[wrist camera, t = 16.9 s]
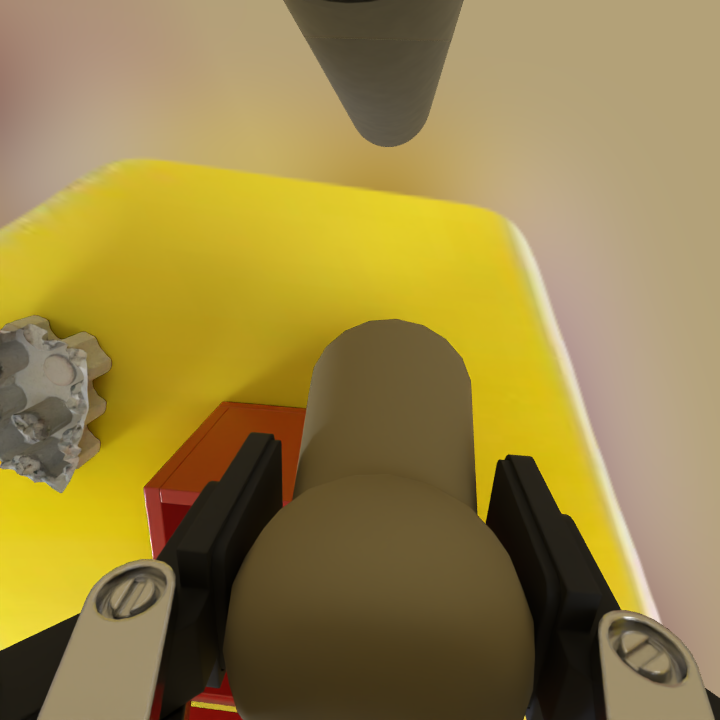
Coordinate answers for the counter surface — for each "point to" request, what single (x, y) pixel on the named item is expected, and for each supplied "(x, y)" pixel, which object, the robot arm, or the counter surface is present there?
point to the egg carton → (48, 400)
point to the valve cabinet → (217, 476)
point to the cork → (382, 554)
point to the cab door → (212, 714)
